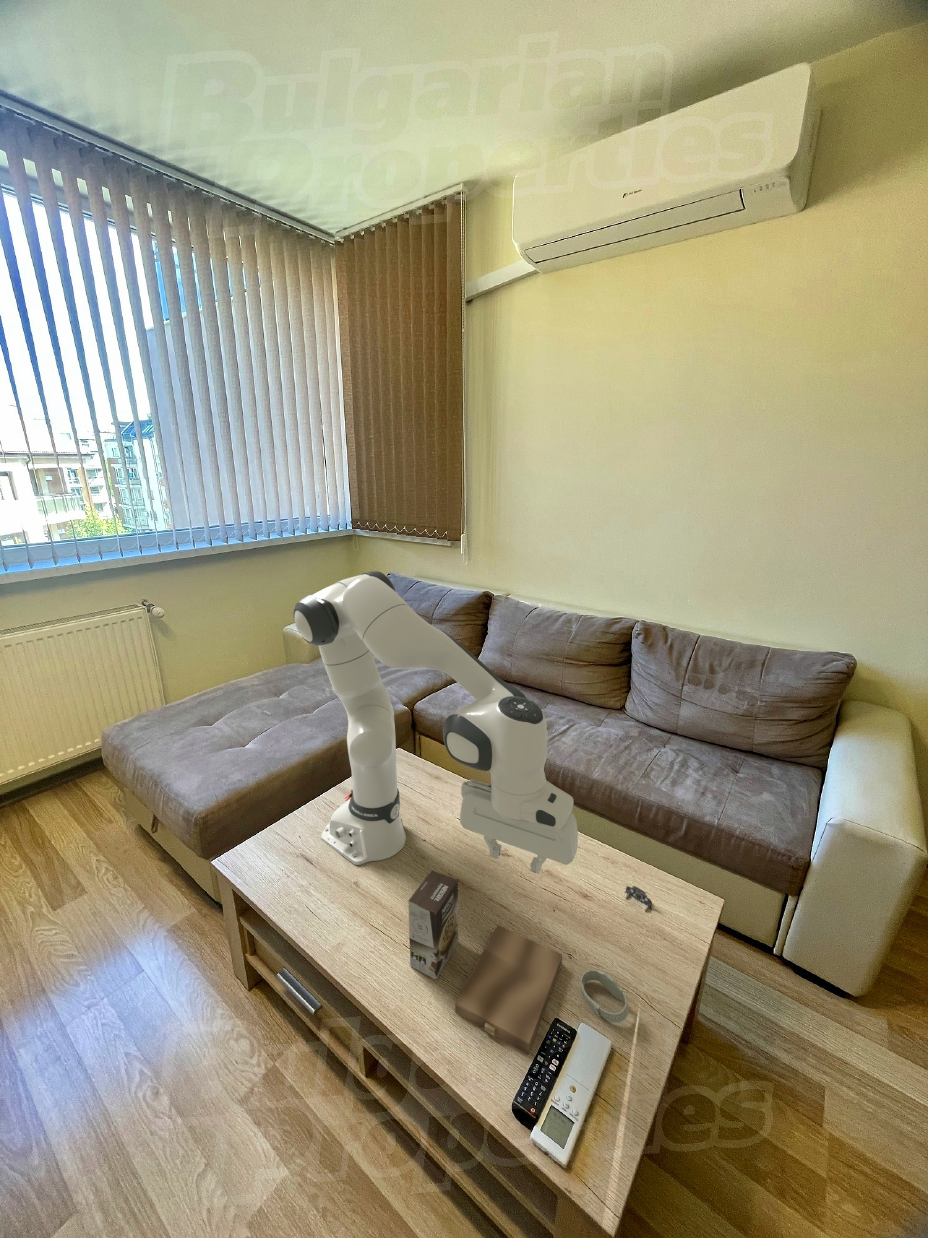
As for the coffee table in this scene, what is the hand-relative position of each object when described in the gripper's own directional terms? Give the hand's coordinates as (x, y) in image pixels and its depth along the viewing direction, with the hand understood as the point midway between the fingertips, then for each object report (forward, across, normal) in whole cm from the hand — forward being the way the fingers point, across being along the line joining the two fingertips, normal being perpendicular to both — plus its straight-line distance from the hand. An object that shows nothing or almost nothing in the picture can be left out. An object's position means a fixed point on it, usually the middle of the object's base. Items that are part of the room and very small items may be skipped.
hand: (515, 862), depth 85 cm
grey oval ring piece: (+29, +16, +5) cm, 34 cm away
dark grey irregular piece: (+30, +22, +30) cm, 47 cm away
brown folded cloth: (+29, 0, 0) cm, 29 cm away
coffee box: (+29, -16, -1) cm, 33 cm away
